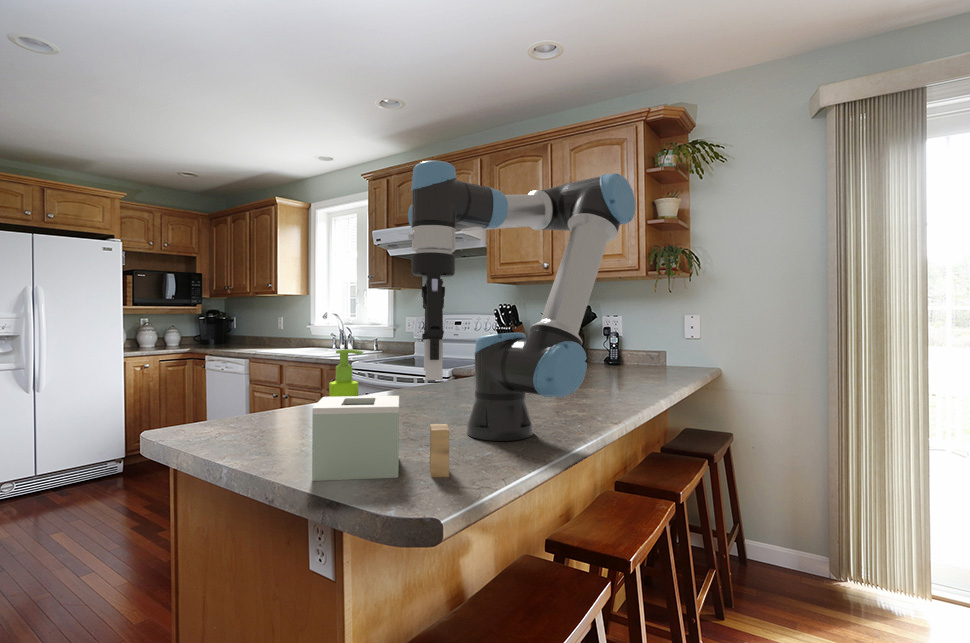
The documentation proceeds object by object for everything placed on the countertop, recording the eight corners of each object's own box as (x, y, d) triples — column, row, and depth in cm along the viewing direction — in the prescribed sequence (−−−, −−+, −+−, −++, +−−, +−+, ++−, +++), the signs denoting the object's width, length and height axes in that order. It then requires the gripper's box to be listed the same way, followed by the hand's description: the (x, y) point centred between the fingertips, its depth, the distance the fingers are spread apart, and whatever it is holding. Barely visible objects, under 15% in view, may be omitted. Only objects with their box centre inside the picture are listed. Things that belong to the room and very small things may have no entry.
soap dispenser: (355, 449, 108) (355, 350, 107) (323, 447, 109) (324, 350, 109) (367, 442, 113) (367, 349, 113) (337, 440, 115) (337, 348, 114)
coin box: (398, 458, 101) (399, 395, 101) (398, 477, 89) (398, 406, 89) (322, 460, 99) (323, 396, 99) (312, 480, 87) (312, 408, 87)
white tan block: (429, 468, 94) (430, 424, 94) (446, 468, 95) (446, 423, 95) (431, 477, 90) (431, 430, 89) (448, 476, 90) (449, 429, 90)
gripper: (411, 260, 104) (411, 367, 104) (411, 243, 79) (410, 384, 79) (450, 260, 105) (449, 367, 105) (461, 244, 80) (460, 384, 81)
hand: (432, 375), depth 92 cm, fingers open, 13 cm apart
